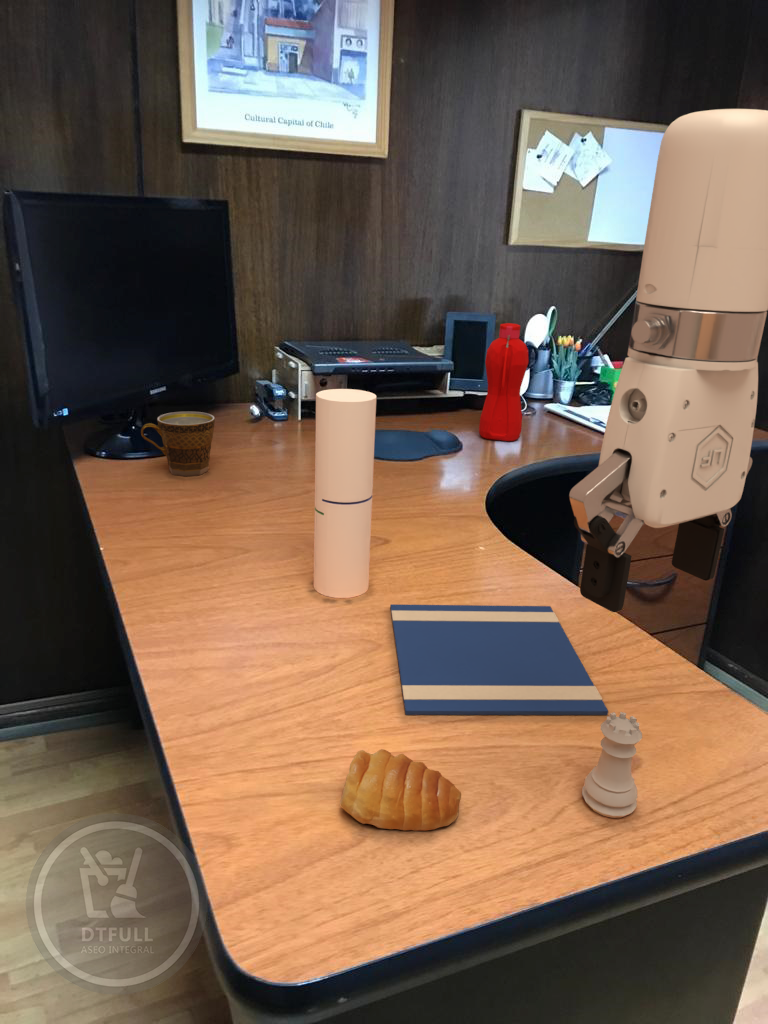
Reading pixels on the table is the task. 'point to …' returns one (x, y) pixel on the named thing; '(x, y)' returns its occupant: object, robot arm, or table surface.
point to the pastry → (398, 793)
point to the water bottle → (504, 385)
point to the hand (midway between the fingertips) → (648, 587)
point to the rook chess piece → (614, 769)
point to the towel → (489, 662)
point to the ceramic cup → (185, 441)
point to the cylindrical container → (343, 491)
